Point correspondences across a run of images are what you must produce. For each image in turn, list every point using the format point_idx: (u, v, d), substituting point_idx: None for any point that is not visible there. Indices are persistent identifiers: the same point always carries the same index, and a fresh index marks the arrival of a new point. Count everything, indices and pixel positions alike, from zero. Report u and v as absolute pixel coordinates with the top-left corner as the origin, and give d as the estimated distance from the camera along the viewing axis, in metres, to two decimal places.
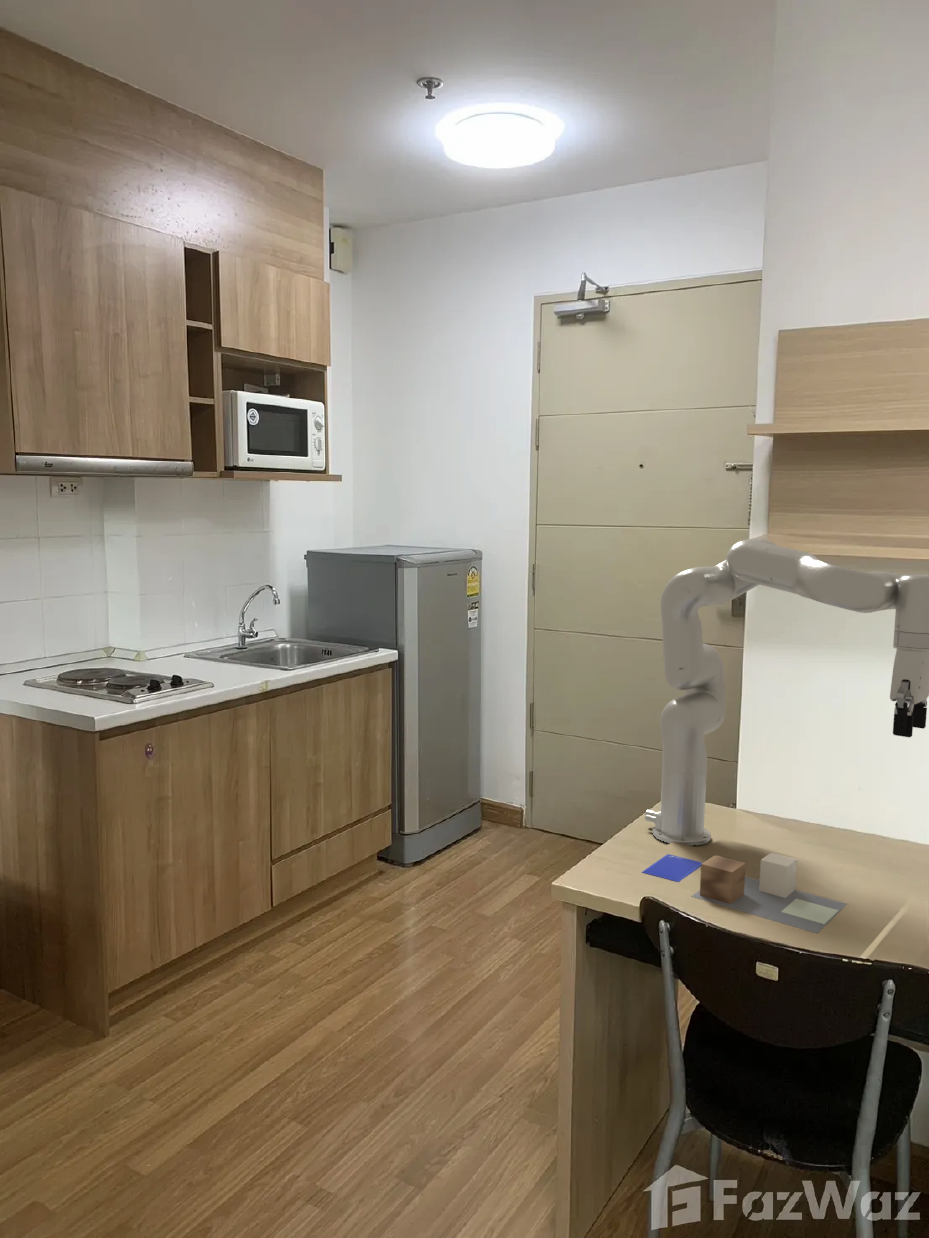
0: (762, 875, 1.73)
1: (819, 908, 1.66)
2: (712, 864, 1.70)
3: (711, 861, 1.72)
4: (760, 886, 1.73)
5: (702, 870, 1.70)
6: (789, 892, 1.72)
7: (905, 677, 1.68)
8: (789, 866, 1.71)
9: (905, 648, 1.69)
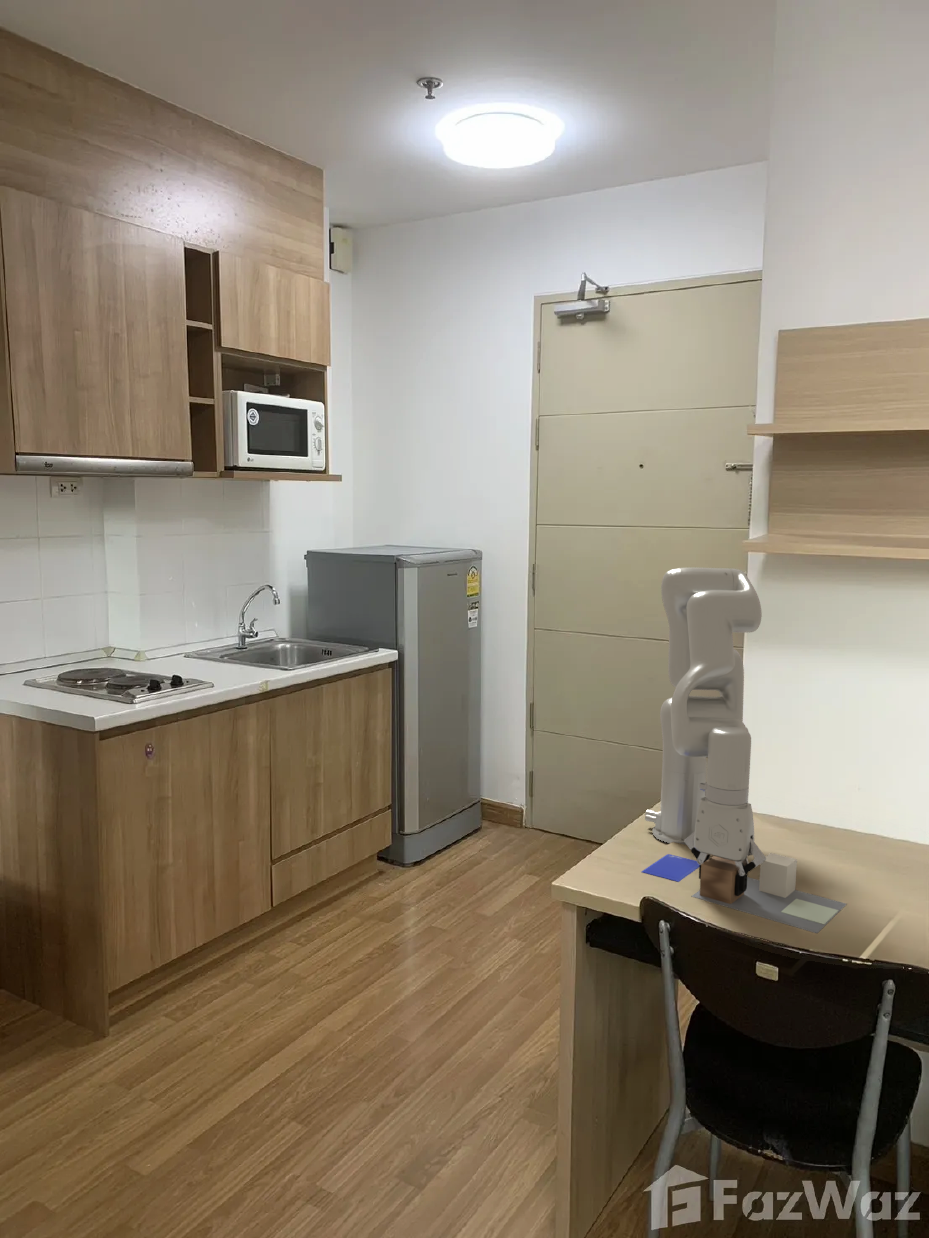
0: (762, 875, 1.73)
1: (819, 908, 1.66)
2: (712, 864, 1.70)
3: (711, 861, 1.72)
4: (760, 886, 1.73)
5: (702, 870, 1.70)
6: (789, 892, 1.72)
7: (751, 834, 1.67)
8: (789, 866, 1.71)
9: (743, 805, 1.67)
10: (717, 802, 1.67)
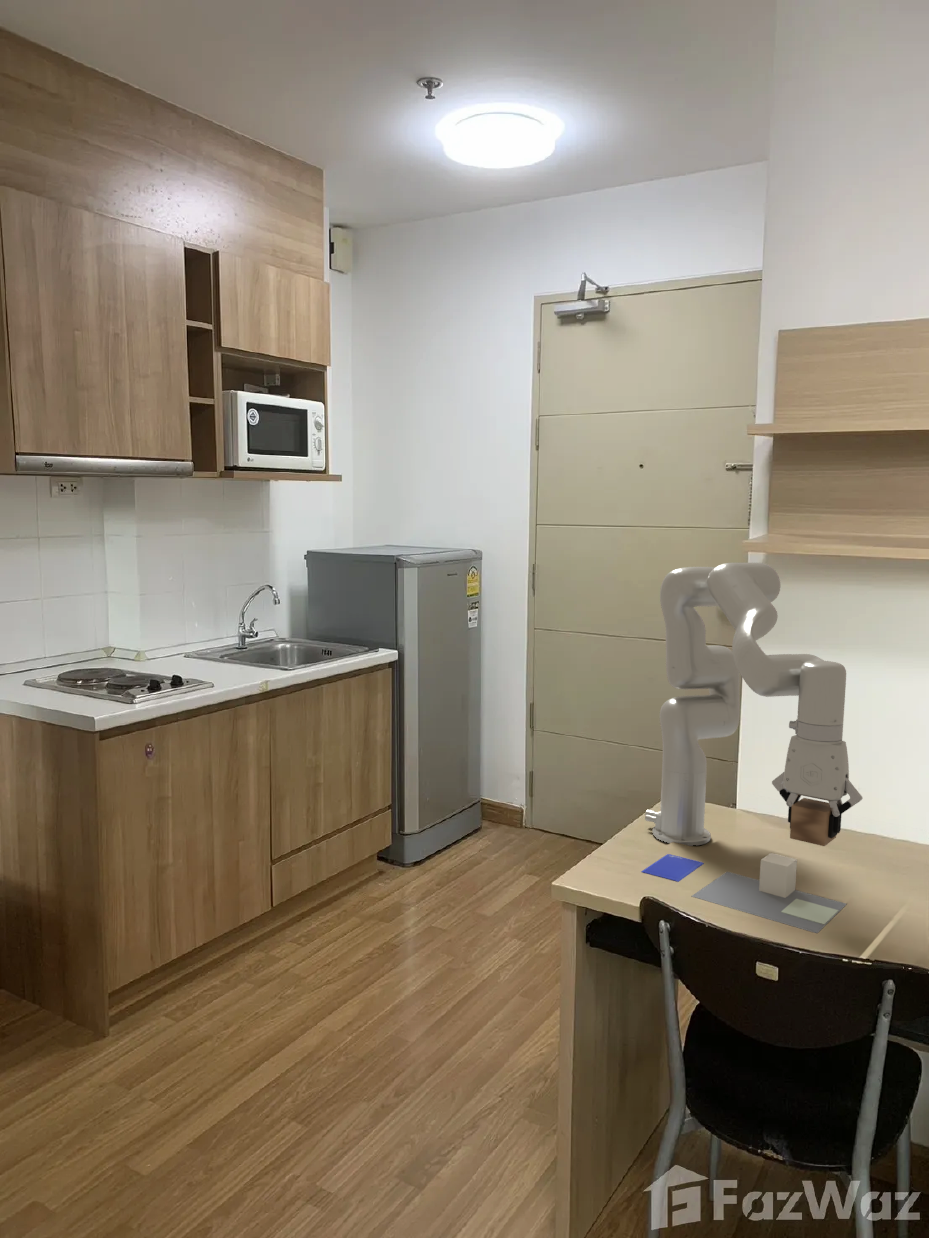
0: (762, 875, 1.73)
1: (819, 908, 1.66)
2: (803, 806, 1.62)
3: (801, 803, 1.64)
4: (760, 886, 1.73)
5: (793, 812, 1.62)
6: (789, 892, 1.72)
7: (846, 772, 1.59)
8: (789, 866, 1.71)
9: (838, 742, 1.58)
10: (810, 739, 1.59)
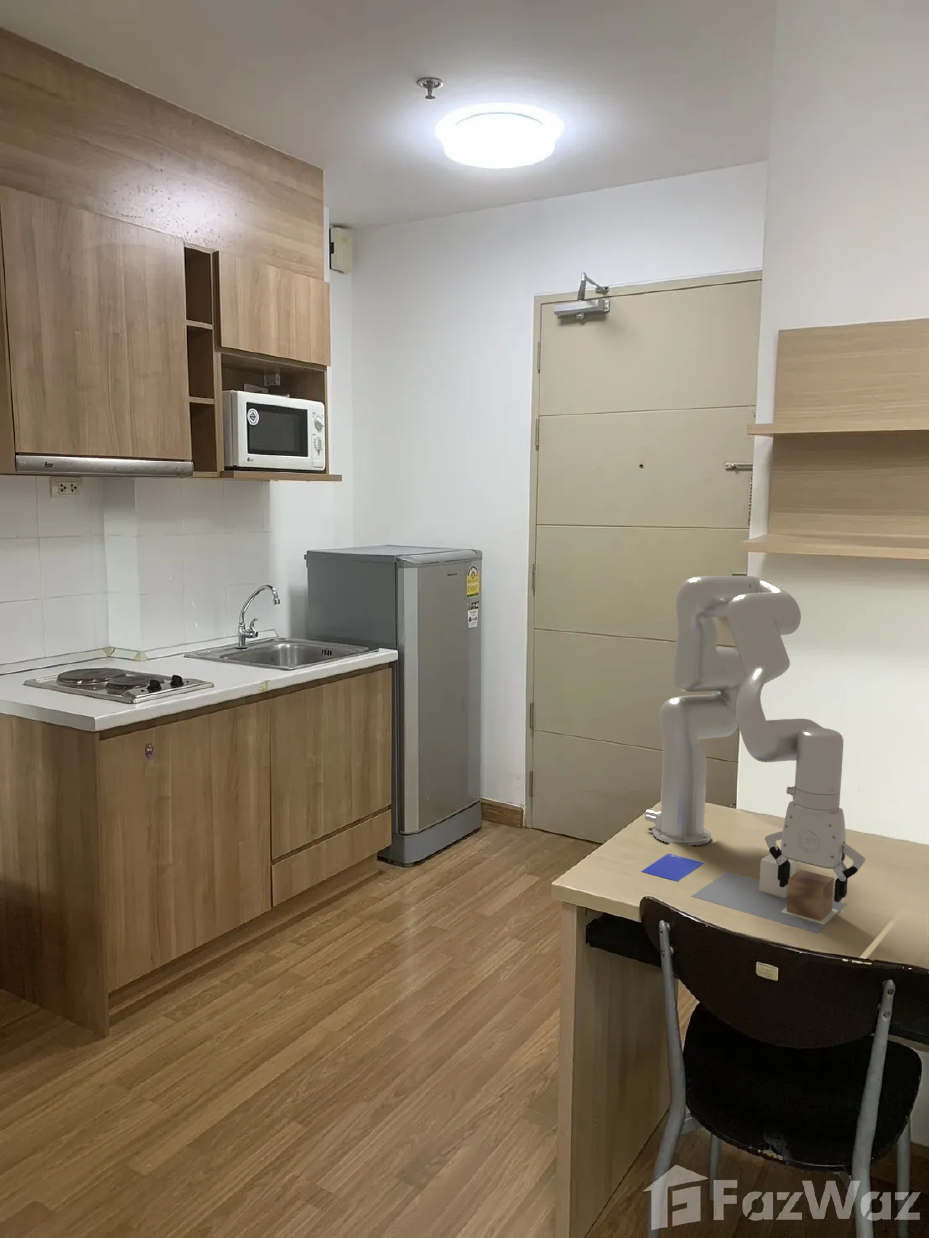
0: (762, 875, 1.73)
1: None
2: (799, 880, 1.63)
3: (798, 876, 1.65)
4: (760, 886, 1.73)
5: (789, 885, 1.64)
6: None
7: (843, 840, 1.60)
8: None
9: (836, 810, 1.60)
10: (808, 807, 1.60)
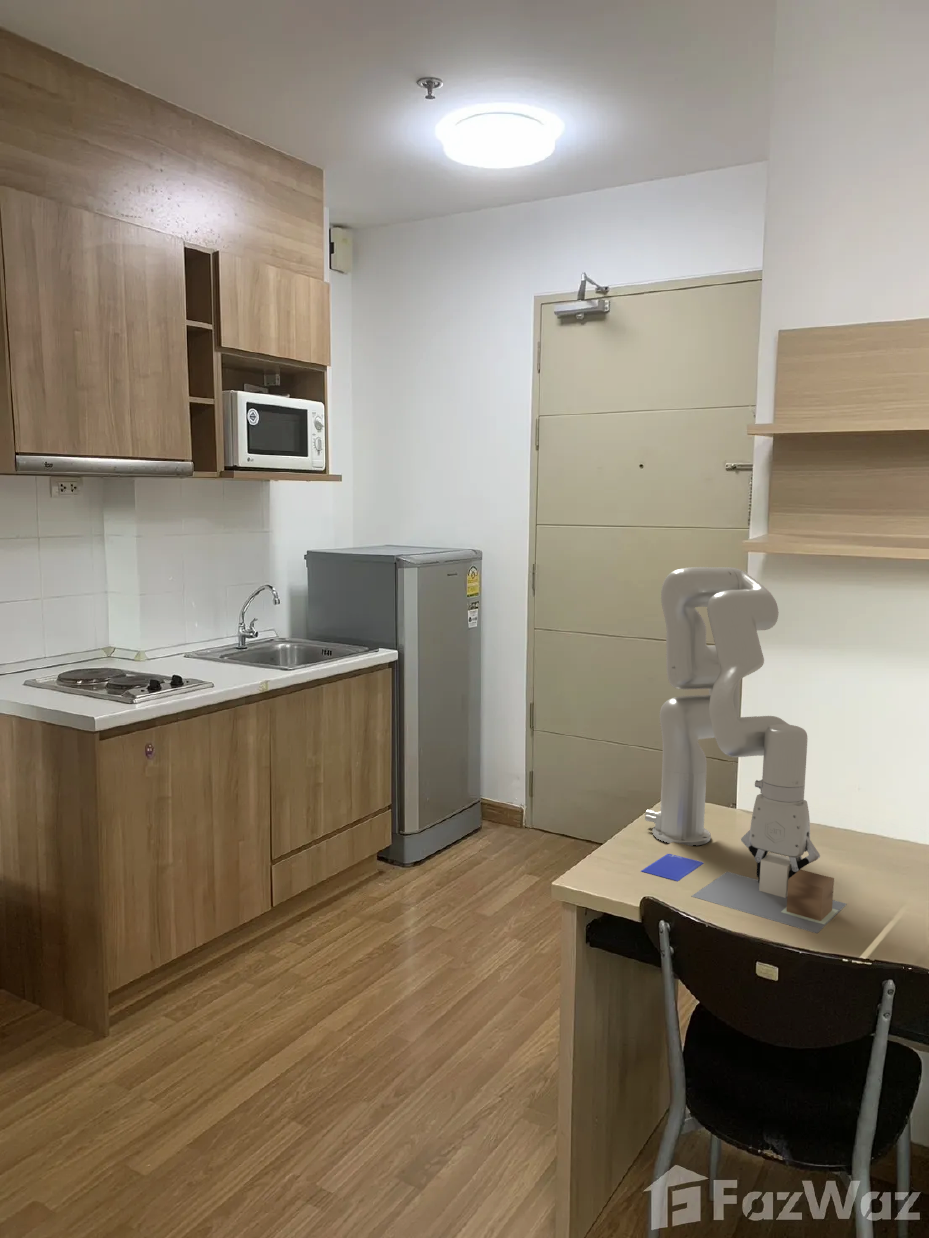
0: (762, 875, 1.73)
1: None
2: (799, 880, 1.63)
3: (798, 876, 1.65)
4: (760, 886, 1.73)
5: (789, 885, 1.64)
6: None
7: (807, 830, 1.69)
8: (789, 866, 1.71)
9: (800, 802, 1.69)
10: (774, 799, 1.69)
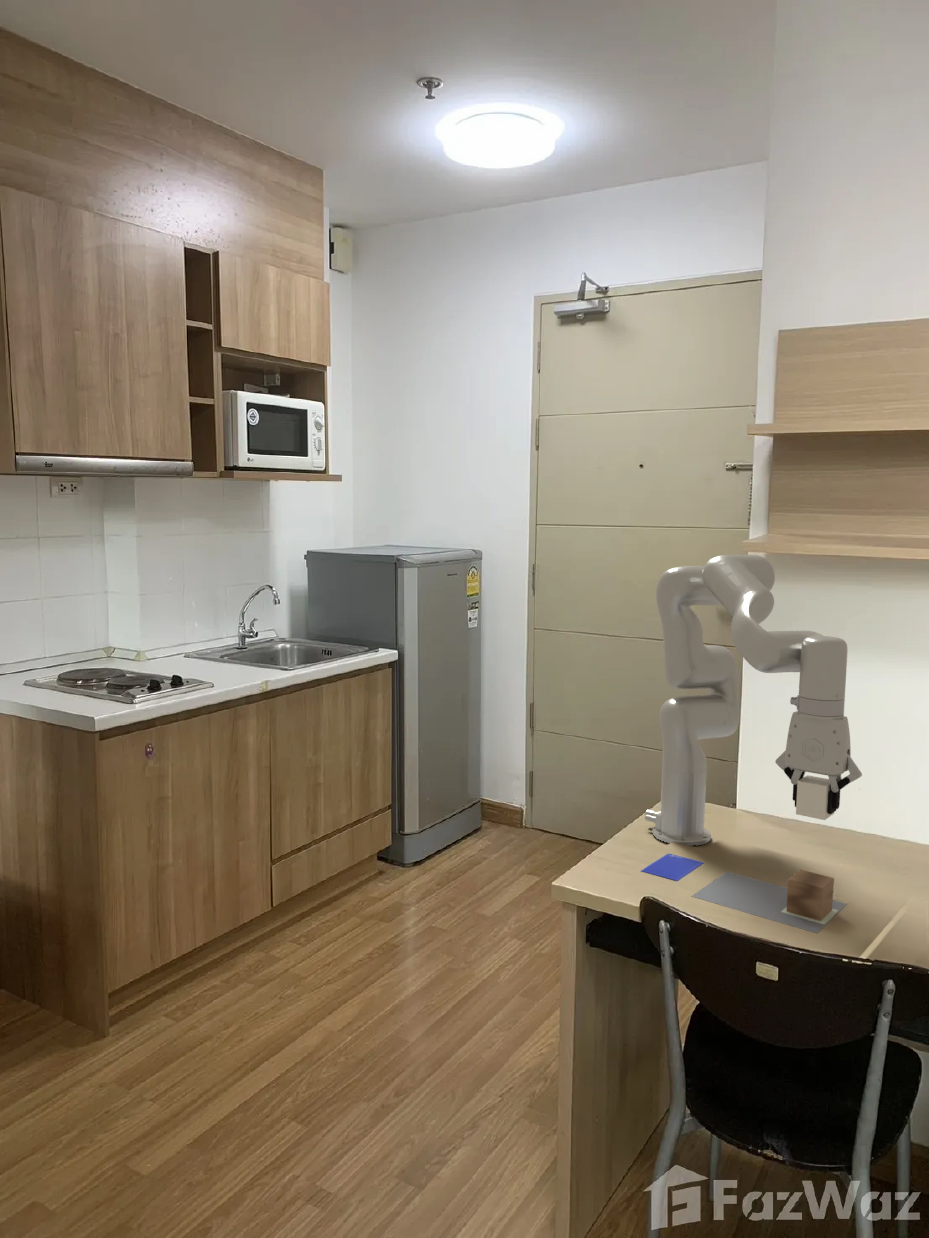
0: (799, 797, 1.62)
1: None
2: (799, 880, 1.63)
3: (798, 876, 1.65)
4: (797, 809, 1.62)
5: (789, 885, 1.64)
6: (828, 815, 1.61)
7: (848, 747, 1.58)
8: (828, 786, 1.60)
9: (840, 717, 1.58)
10: (812, 714, 1.58)
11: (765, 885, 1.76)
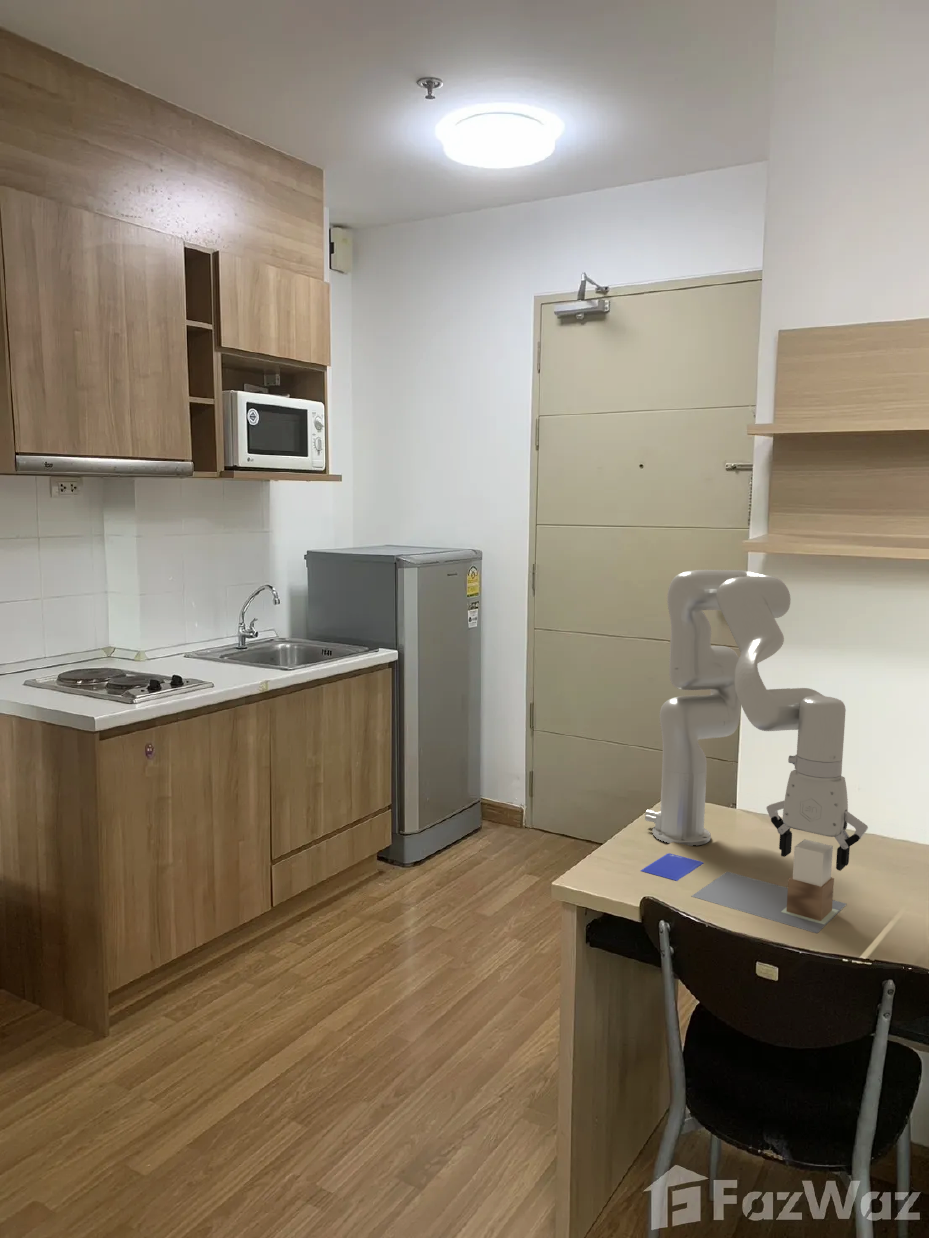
0: (796, 862, 1.63)
1: None
2: None
3: None
4: (794, 874, 1.63)
5: (789, 885, 1.64)
6: (825, 881, 1.62)
7: (845, 808, 1.59)
8: (825, 853, 1.61)
9: (838, 778, 1.59)
10: (810, 775, 1.59)
11: (765, 885, 1.76)
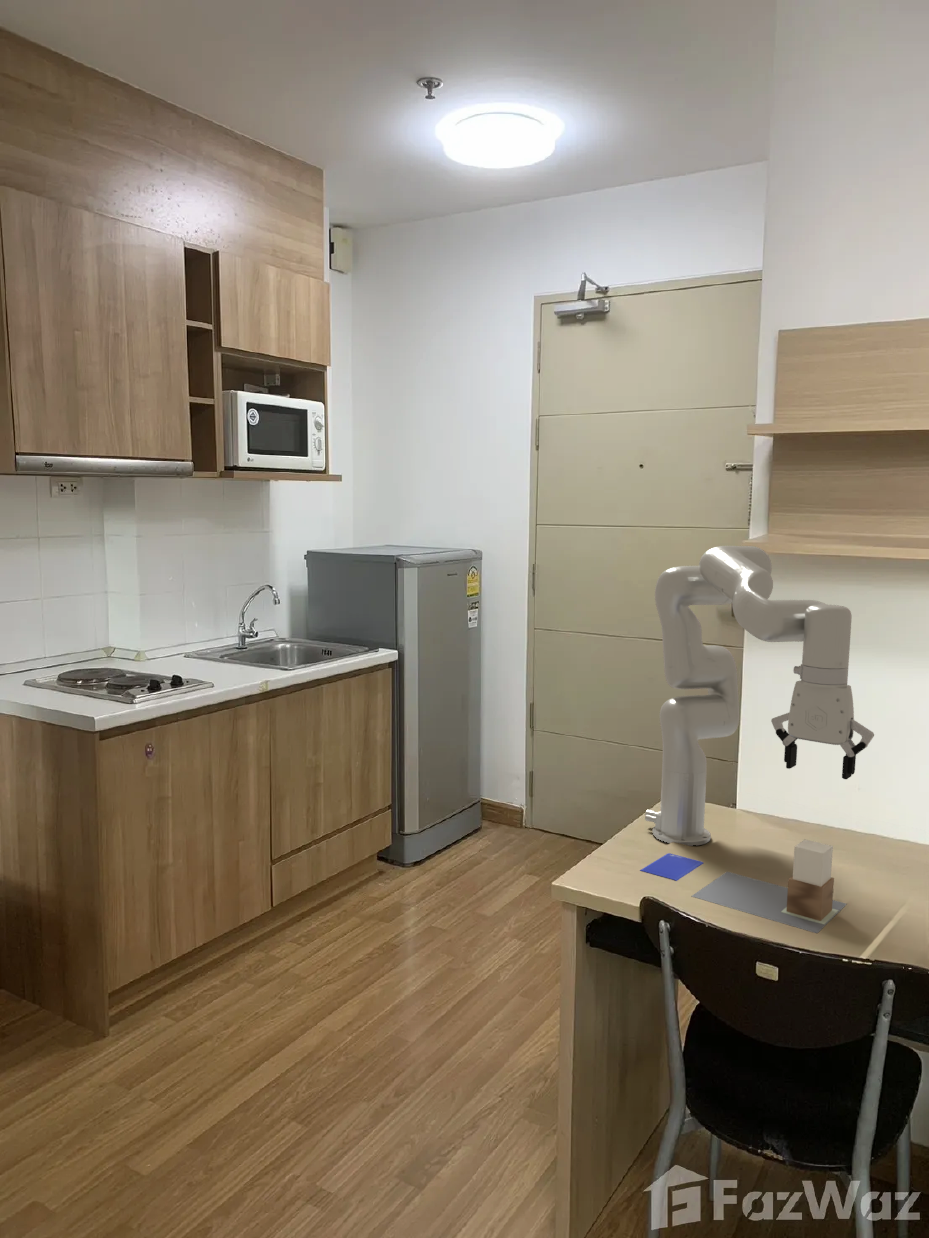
0: (796, 862, 1.63)
1: None
2: None
3: None
4: (794, 874, 1.63)
5: (789, 885, 1.64)
6: (825, 881, 1.62)
7: (851, 716, 1.57)
8: (825, 853, 1.61)
9: (844, 685, 1.57)
10: (815, 682, 1.57)
11: (765, 885, 1.76)
